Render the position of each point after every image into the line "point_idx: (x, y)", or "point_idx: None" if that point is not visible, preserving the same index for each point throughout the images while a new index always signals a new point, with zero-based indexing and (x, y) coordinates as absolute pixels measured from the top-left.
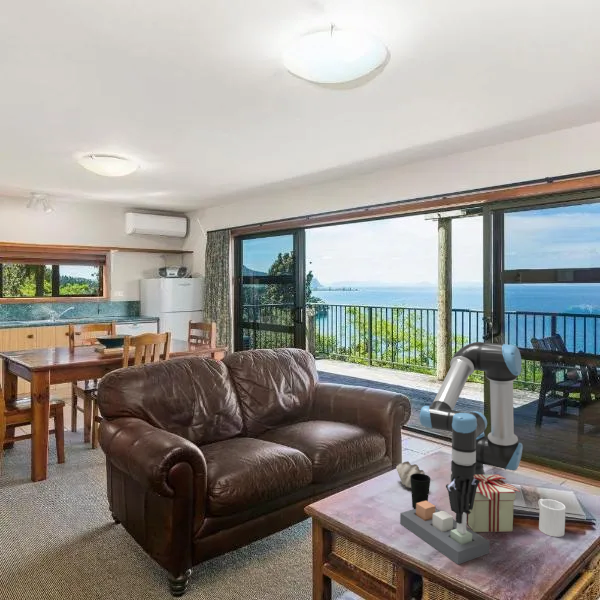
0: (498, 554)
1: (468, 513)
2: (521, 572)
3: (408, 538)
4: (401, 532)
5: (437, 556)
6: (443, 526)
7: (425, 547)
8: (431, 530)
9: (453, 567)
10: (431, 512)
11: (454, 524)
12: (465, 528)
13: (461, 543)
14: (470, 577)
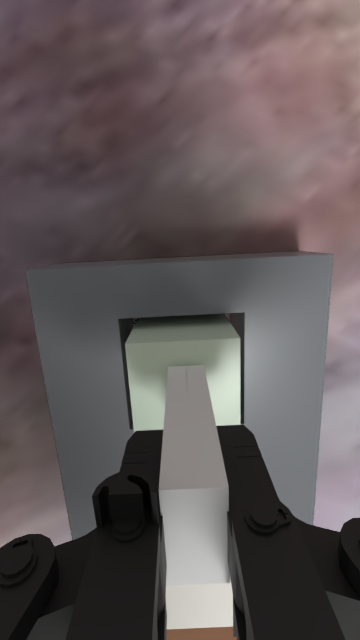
0: (16, 231)
1: (146, 479)
2: (11, 17)
3: (339, 510)
4: None
5: (335, 350)
6: None
7: (326, 429)
8: (287, 501)
9: (340, 240)
10: (186, 632)
11: None
12: (176, 384)
13: (231, 325)
14: (333, 123)
